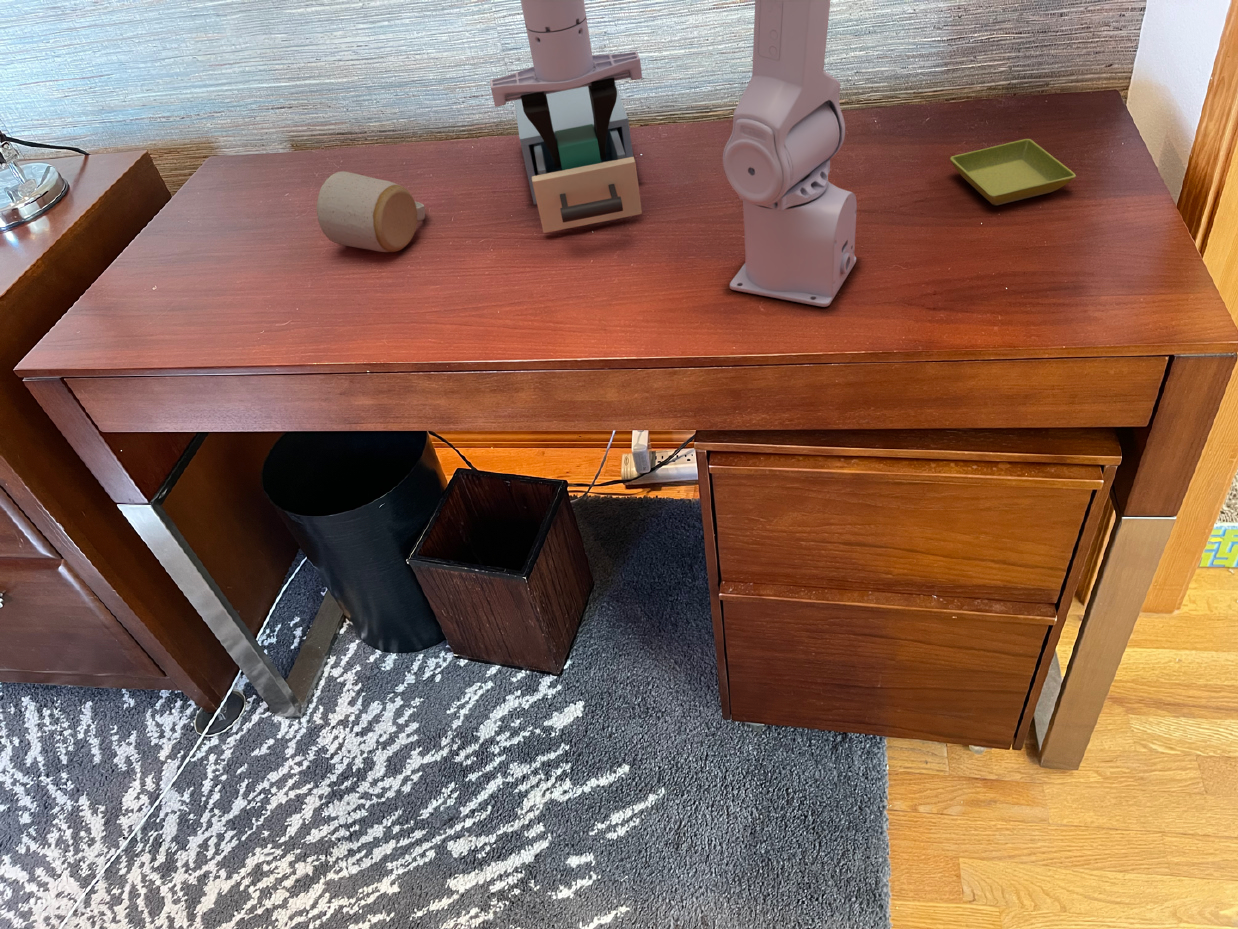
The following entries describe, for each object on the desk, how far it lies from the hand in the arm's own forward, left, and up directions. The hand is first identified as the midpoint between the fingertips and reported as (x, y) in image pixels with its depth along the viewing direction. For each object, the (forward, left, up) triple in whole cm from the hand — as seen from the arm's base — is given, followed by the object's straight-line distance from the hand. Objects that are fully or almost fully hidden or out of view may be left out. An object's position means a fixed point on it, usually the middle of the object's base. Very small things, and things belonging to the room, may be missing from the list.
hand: (580, 159), depth 93 cm
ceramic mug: (+20, +11, -6) cm, 23 cm away
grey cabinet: (+7, -9, -6) cm, 12 cm away
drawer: (0, 0, -5) cm, 5 cm away
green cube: (0, 0, -1) cm, 1 cm away
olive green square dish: (-39, -16, -6) cm, 43 cm away
